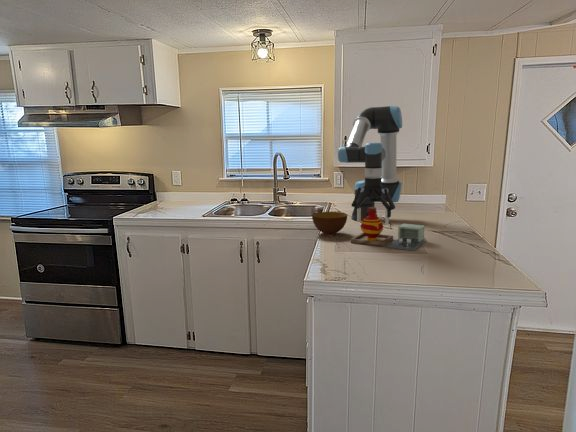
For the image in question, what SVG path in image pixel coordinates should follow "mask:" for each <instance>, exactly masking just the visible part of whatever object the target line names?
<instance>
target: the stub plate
mask: <svg viewBox="0 0 576 432" xmlns="http://www.w3.org/2000/svg"><path fill="white" fill-rule="evenodd" d="M426 240H427V238H426V237H424V239H423V240H422V241H420V242H418V238H409V237H403V238H399V240H398V238H397V239H396V240H395V241H394V242H392V243H391V244H389V245H388V248H389V249H396V250H405V251H413V252H414V251H416V250H417V249H418V248H419V247H420V246H421V245H423V244H424V243H425V242H426Z"/></svg>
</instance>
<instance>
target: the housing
mask: <svg viewBox="0 0 576 432" xmlns="http://www.w3.org/2000/svg"><path fill="white" fill-rule="evenodd" d="M397 230H398V232H397V239H398V240H399V238H403V237H409V238H418V242H420V241H422V240H423V239H424V238H425V225H423V224H414V223H413V224H412V223H402V224H400V225H399V226H398V229H397Z"/></svg>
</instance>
